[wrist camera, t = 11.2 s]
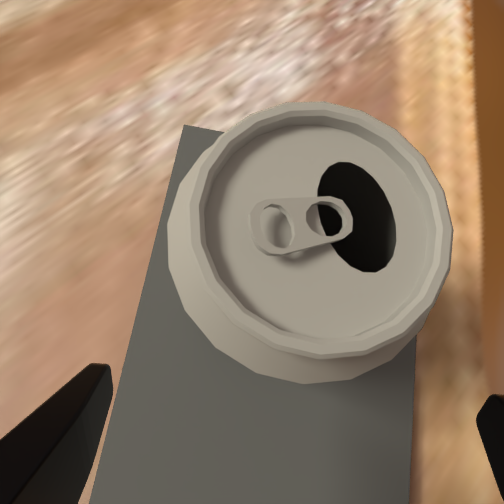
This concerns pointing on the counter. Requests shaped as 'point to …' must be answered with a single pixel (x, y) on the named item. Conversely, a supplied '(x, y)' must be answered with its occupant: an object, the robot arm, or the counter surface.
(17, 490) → the robot arm
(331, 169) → the can
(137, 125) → the counter surface
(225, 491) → the bar mat
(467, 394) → the counter surface
